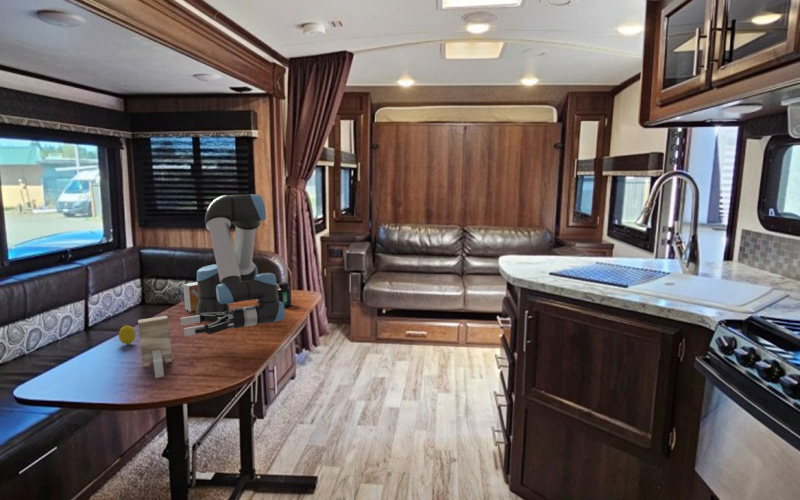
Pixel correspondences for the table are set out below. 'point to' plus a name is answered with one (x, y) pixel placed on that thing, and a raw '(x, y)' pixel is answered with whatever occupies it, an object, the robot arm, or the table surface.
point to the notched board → (158, 363)
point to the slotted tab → (154, 338)
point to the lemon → (126, 334)
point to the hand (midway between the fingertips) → (182, 326)
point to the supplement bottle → (284, 294)
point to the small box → (191, 296)
